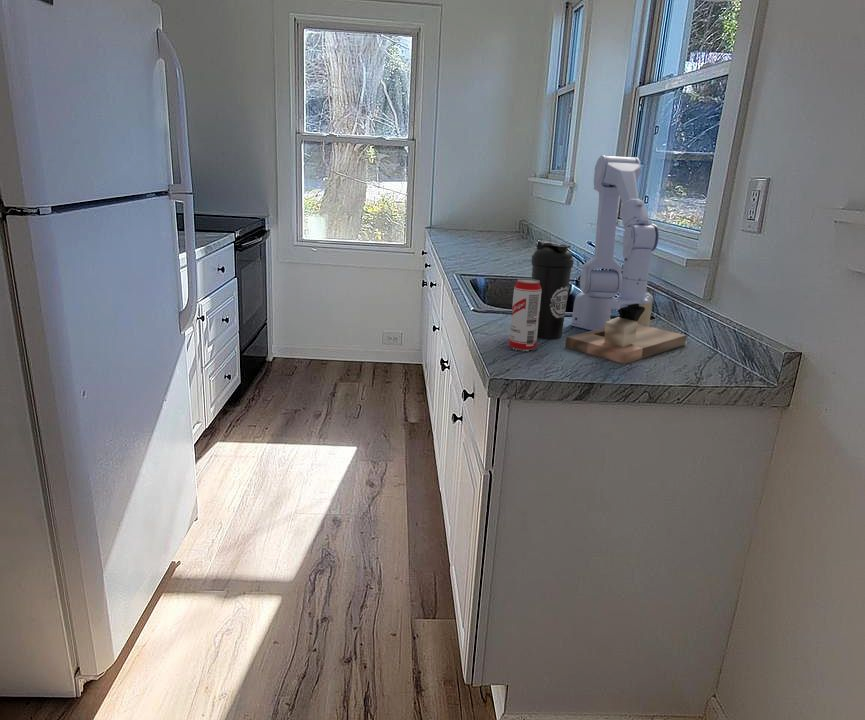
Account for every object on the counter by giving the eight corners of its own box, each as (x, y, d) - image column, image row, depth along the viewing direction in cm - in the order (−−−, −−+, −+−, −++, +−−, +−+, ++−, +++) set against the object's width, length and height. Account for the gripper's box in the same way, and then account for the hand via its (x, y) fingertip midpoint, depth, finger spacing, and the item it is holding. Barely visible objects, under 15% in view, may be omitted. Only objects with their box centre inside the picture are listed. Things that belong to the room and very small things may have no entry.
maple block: (604, 342, 151) (605, 322, 149) (616, 337, 154) (617, 317, 152) (623, 347, 147) (624, 326, 146) (635, 342, 150) (636, 321, 149)
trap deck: (565, 347, 155) (566, 336, 154) (627, 331, 173) (629, 321, 173) (624, 363, 144) (626, 353, 143) (684, 344, 162) (686, 335, 162)
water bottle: (547, 342, 158) (557, 247, 151) (516, 332, 165) (524, 241, 159) (573, 336, 165) (584, 245, 158) (541, 327, 172) (550, 240, 165)
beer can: (518, 353, 148) (525, 283, 143) (503, 346, 153) (509, 278, 148) (541, 351, 150) (548, 282, 146) (525, 343, 156) (531, 277, 151)
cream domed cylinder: (649, 330, 176) (655, 293, 173) (628, 328, 177) (633, 291, 174) (647, 325, 181) (652, 290, 178) (626, 323, 182) (631, 288, 179)
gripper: (633, 284, 141) (625, 344, 145) (666, 278, 150) (657, 335, 154) (605, 278, 146) (598, 337, 150) (639, 273, 155) (631, 329, 159)
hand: (626, 336), depth 152 cm, fingers closed, pressing on maple block
